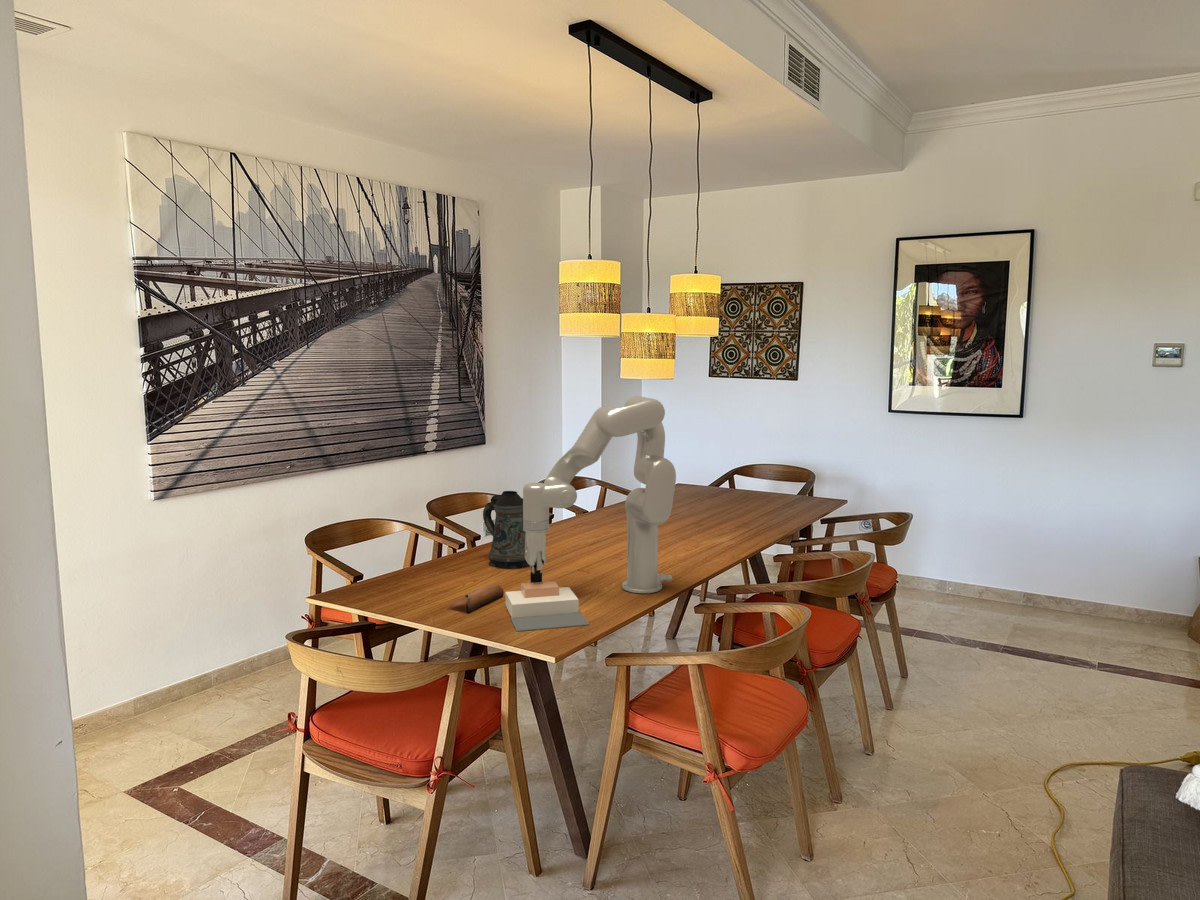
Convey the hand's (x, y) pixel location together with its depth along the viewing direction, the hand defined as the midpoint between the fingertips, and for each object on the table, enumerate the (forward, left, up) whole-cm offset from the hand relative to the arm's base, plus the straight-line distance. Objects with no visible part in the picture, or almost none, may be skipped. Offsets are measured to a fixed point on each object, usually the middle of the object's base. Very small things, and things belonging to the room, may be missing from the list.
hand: (536, 585), depth 241 cm
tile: (0, +6, 0) cm, 6 cm away
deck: (0, +8, -5) cm, 9 cm away
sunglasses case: (+18, -3, -5) cm, 19 cm away
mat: (0, +19, -5) cm, 20 cm away
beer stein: (+1, -43, -5) cm, 44 cm away
